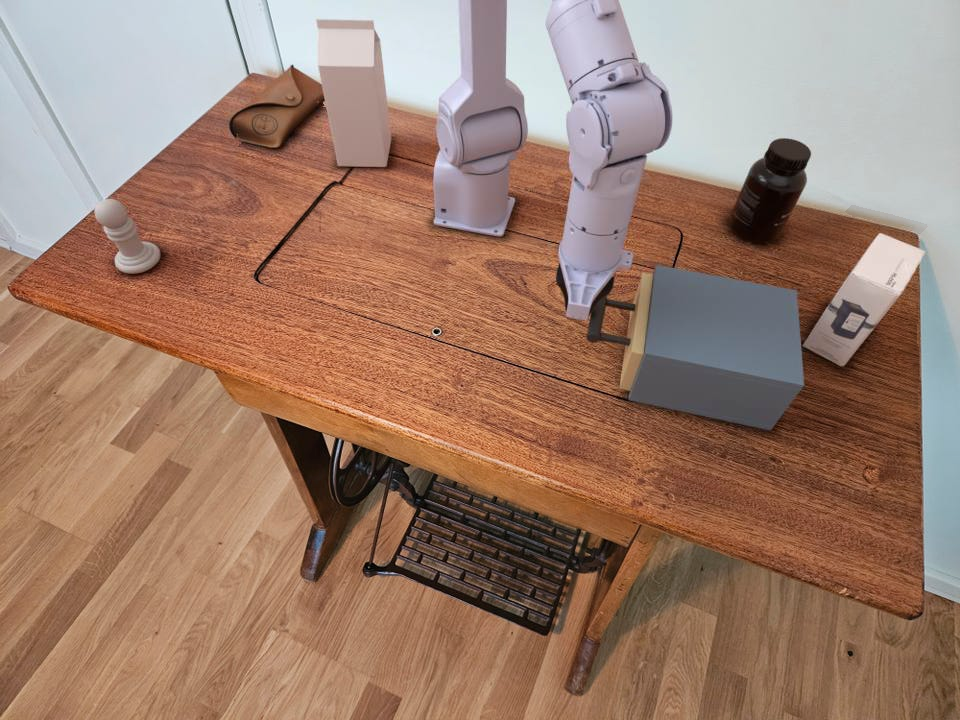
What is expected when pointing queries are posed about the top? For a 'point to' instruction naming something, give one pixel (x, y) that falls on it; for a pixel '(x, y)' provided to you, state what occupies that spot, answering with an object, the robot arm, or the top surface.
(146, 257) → the chess piece
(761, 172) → the supplement bottle
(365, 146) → the milk carton
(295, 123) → the sunglasses case
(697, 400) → the cabinet
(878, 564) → the top surface
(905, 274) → the ink box
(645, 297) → the drawer
